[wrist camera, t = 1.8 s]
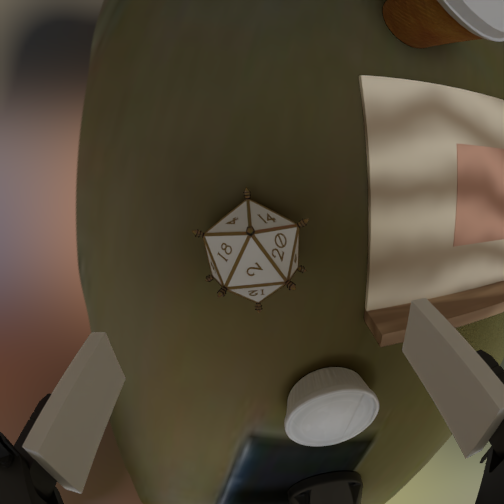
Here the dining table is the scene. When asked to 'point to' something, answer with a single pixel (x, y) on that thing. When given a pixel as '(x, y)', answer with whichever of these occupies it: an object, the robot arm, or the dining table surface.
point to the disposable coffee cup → (444, 21)
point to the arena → (432, 203)
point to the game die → (253, 251)
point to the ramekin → (329, 407)
